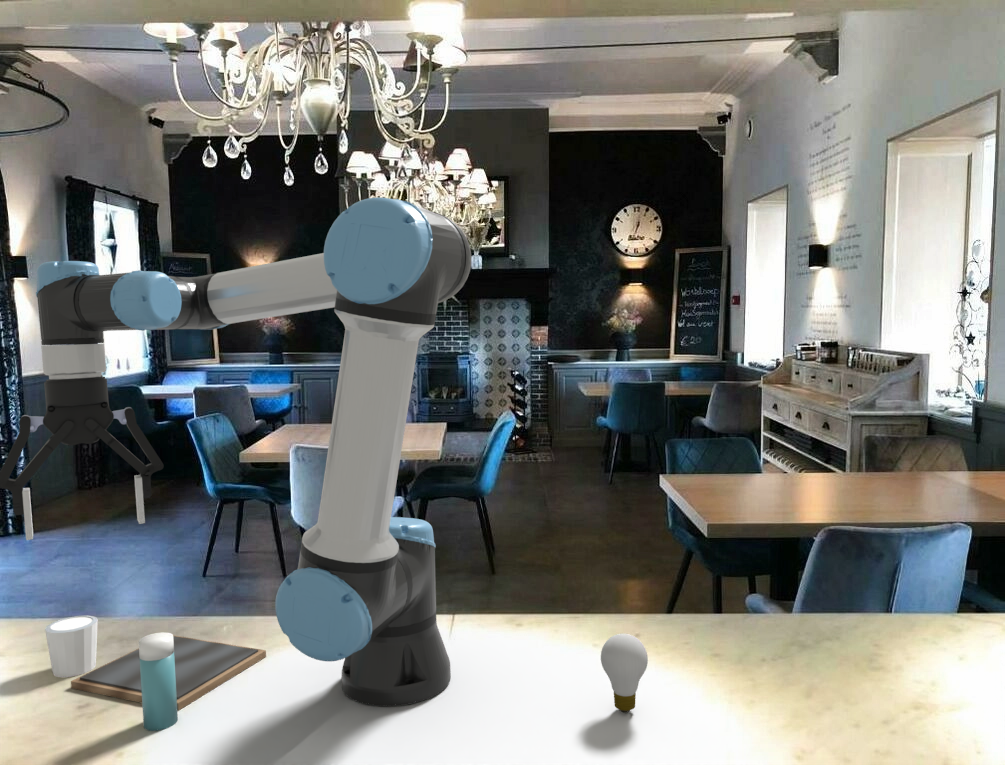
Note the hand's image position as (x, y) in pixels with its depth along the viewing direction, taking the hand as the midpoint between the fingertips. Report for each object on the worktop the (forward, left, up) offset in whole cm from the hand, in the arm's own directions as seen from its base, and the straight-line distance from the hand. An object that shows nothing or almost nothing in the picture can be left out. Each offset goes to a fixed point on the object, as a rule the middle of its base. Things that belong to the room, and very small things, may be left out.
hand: (87, 529), depth 107 cm
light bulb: (-71, -18, -23) cm, 77 cm away
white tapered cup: (+9, -4, -23) cm, 25 cm away
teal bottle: (-16, +4, -23) cm, 28 cm away
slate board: (-6, -8, -23) cm, 25 cm away
